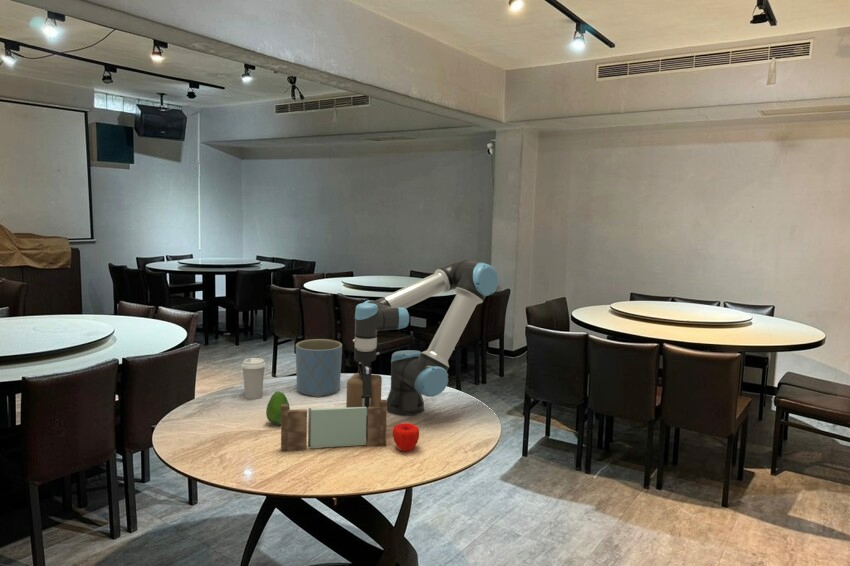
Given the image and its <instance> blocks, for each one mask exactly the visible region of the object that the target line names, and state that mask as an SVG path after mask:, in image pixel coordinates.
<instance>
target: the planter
mask: <svg viewBox="0 0 850 566" xmlns="http://www.w3.org/2000/svg"><path fill="white" fill-rule="evenodd" d="M342 355H343V343H342V342H340V341H338V340H333V339H327V338H314V339H304V340H301V341H298V342H297V343H296V344H295V368H296V369H295V371H296V376H295V377H296V391H297V392H298V393H300V394H303V395H304V394H305V395H307V396H313V397H316V398H321V397H323V396H325V395H330V394H333V393H336V392H338V391H339V390H340V388H341V372H342V371H341V370H342Z"/></svg>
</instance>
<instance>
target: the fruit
mask: <svg viewBox="0 0 850 566" xmlns="http://www.w3.org/2000/svg"><path fill="white" fill-rule="evenodd" d="M281 404H288V410H291V408H290V403H289V401H288V398H287V397H286V394H284V392H282V391H275V392H274V393H273V394H272V395H271V397H270V399H269V401H268V403H267V406H266V413H265V414H266V419H267V420H268V421H269V422H270V423H271V424H272V425H276V426H281Z"/></svg>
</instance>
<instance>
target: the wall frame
mask: <svg viewBox="0 0 850 566" xmlns="http://www.w3.org/2000/svg"><path fill="white" fill-rule="evenodd" d="M387 414H388V411H387V399H381V400H380V406H369V407H368V420H367V438H366V446H367V447H375V446H376V447H377V446H378V447H383V446H386V445H387ZM307 448H308V409H307V408H305V409H303V408H302V409H301V408H300V409H290V410H288V404H281V424H280V452H281V453H284V452H285V453H286V452H292V451H293V452H294V451H307V450H308V449H307Z"/></svg>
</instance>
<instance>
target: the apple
mask: <svg viewBox="0 0 850 566" xmlns="http://www.w3.org/2000/svg"><path fill="white" fill-rule="evenodd" d="M392 438H393V442H394V443H395V445H396V448H397V449H399V450H400V451H403V452H411V451H413V450H414V448H415V447H417V444H418V442H419V440H420V429H419V427H418V426H417V425H415V424H413V423H410V422H403V423H398V424H396V425H394V427H393V428H392Z"/></svg>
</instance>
